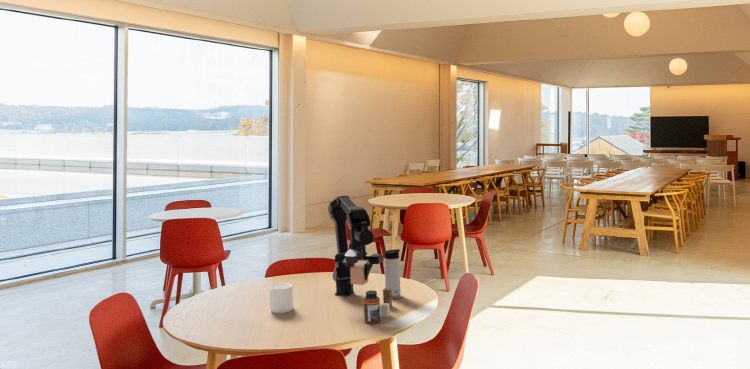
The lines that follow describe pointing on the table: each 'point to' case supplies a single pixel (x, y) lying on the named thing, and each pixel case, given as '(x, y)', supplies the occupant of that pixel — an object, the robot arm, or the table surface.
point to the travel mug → (392, 272)
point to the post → (387, 296)
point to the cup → (281, 297)
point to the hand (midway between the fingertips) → (359, 279)
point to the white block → (385, 310)
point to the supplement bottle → (371, 307)
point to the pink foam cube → (358, 275)
